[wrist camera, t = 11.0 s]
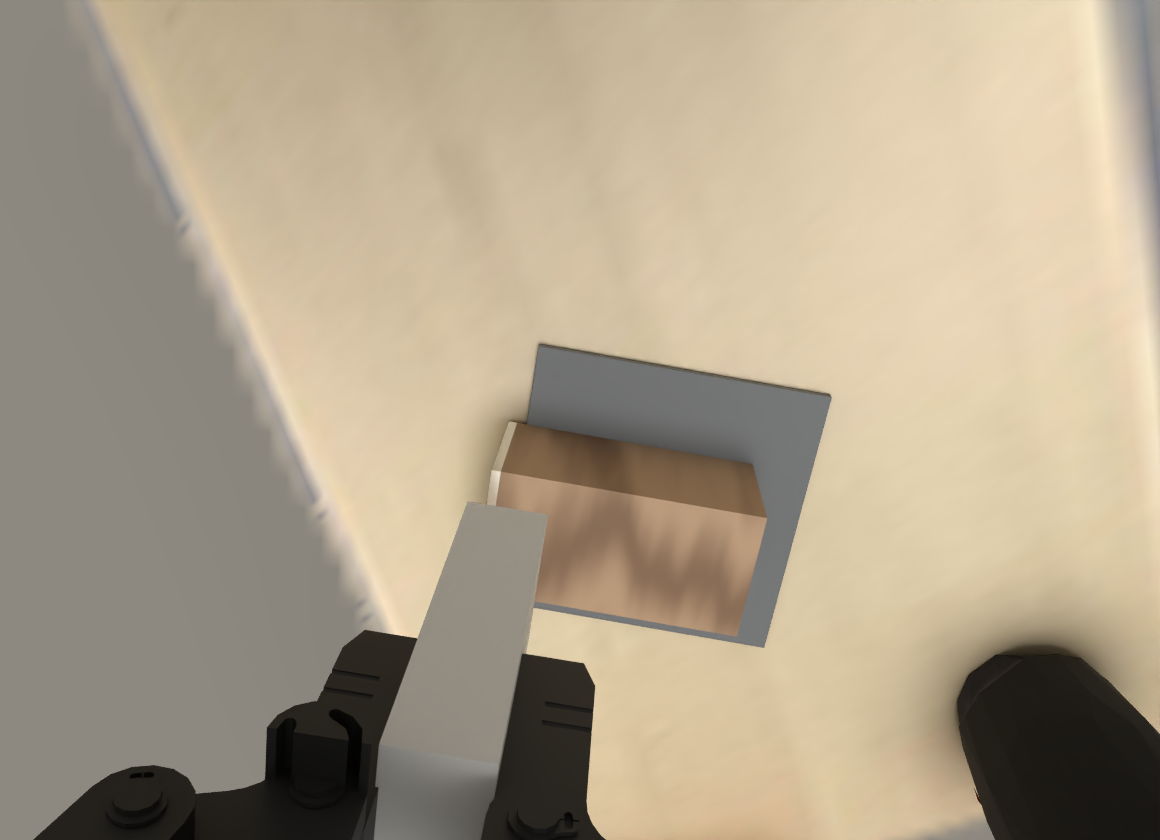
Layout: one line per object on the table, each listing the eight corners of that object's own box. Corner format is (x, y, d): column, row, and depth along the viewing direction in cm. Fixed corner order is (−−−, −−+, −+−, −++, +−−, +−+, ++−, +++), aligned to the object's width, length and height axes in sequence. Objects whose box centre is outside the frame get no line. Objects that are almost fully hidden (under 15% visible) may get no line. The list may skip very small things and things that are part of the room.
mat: (539, 343, 47) (539, 346, 47) (830, 394, 47) (831, 397, 47) (500, 597, 52) (499, 601, 52) (763, 643, 52) (764, 647, 52)
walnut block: (491, 470, 43) (767, 518, 43) (509, 421, 48) (752, 464, 48) (474, 590, 45) (736, 636, 45) (492, 530, 50) (726, 571, 50)
